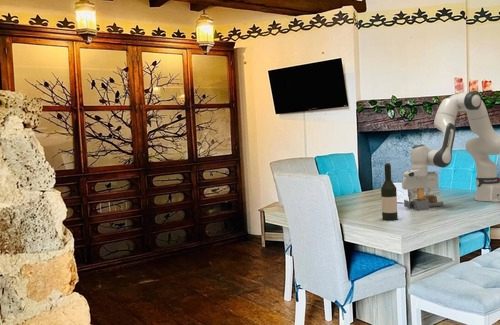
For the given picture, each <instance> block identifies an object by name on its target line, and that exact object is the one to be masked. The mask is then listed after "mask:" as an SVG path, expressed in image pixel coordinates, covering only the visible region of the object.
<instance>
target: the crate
mask: <svg viewBox="0 0 500 325" xmlns="http://www.w3.org/2000/svg"><path fill="white" fill-rule="evenodd" d="M424 199H427V200H429V203H431V202H438V197H437V195H434V194H429V196H426V195H424Z"/></svg>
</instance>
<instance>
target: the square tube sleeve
mask: <svg viewBox="0 0 500 325" xmlns="http://www.w3.org/2000/svg"><path fill="white" fill-rule="evenodd" d="M412 201H413V208H412V209H413V210H416V211H429V210H430V207H429V200H427V199H424V200H420V201H418V199H417V198H413V199H412Z"/></svg>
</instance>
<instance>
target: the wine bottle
mask: <svg viewBox="0 0 500 325" xmlns="http://www.w3.org/2000/svg"><path fill="white" fill-rule="evenodd" d="M380 193H381V194H380V198H381V216H382V217H381V218H382V221H387V222H389V221H391V222H394V221H398V220H399V218H398V196H397V187H396V185H395V184H394V181H392V165H391V162H390V163H389V162H386V163H385V164H384V181H383V184H382V186H381V188H380Z"/></svg>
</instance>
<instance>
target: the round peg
mask: <svg viewBox="0 0 500 325" xmlns="http://www.w3.org/2000/svg"><path fill="white" fill-rule="evenodd" d="M424 191H425V188H422V189H416V195H417V196H416V199H418V201H420V200H424V196H425V193H424Z"/></svg>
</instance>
